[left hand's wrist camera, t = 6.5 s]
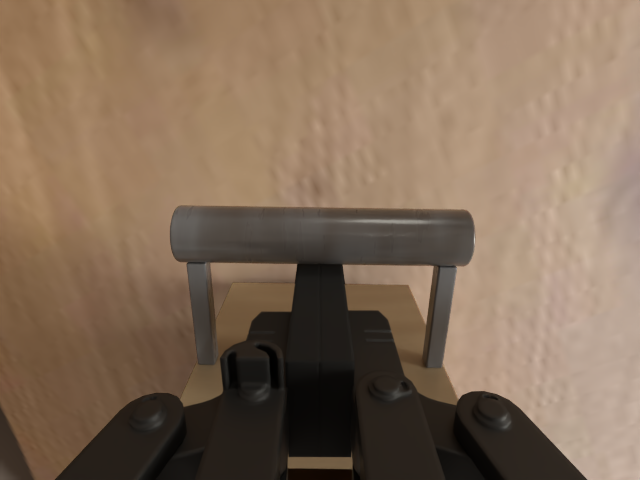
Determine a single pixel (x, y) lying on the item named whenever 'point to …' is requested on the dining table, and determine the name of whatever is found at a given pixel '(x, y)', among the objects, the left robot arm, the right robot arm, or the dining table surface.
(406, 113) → the dining table surface
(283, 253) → the drawer
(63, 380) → the dining table surface
